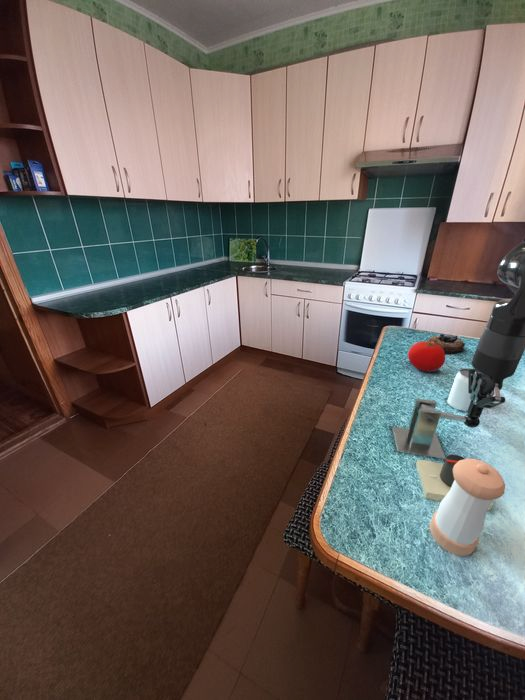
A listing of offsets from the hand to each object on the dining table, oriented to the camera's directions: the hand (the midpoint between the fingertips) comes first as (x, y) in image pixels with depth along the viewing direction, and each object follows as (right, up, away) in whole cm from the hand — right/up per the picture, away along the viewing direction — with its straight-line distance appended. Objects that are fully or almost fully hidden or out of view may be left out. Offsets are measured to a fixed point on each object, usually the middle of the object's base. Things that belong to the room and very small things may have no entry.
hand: (472, 415), depth 68 cm
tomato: (+12, +8, +42) cm, 45 cm away
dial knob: (-8, -13, -6) cm, 16 cm away
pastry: (+29, +16, +57) cm, 66 cm away
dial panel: (-8, -15, -4) cm, 18 cm away
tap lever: (-5, -2, +2) cm, 6 cm away
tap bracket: (-9, -9, +7) cm, 15 cm away
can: (+11, -2, +21) cm, 24 cm away
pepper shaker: (-14, -20, -13) cm, 28 cm away
